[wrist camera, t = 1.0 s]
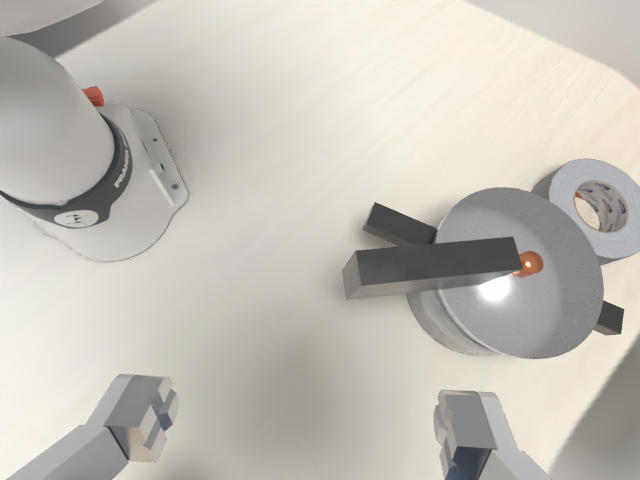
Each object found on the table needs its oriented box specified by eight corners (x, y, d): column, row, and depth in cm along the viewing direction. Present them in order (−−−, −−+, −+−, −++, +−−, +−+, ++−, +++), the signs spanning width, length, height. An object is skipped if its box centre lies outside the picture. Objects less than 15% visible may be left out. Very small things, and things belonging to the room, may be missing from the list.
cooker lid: (562, 186, 45) (621, 150, 37) (619, 346, 39) (704, 343, 31) (330, 203, 41) (342, 166, 33) (356, 384, 35) (377, 391, 27)
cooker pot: (574, 269, 53) (638, 249, 43) (552, 394, 47) (621, 402, 37) (377, 185, 54) (397, 147, 44) (331, 296, 48) (343, 280, 38)
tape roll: (566, 284, 52) (595, 276, 47) (507, 194, 56) (529, 178, 51) (641, 243, 56) (675, 232, 51) (581, 161, 59) (607, 144, 54)
